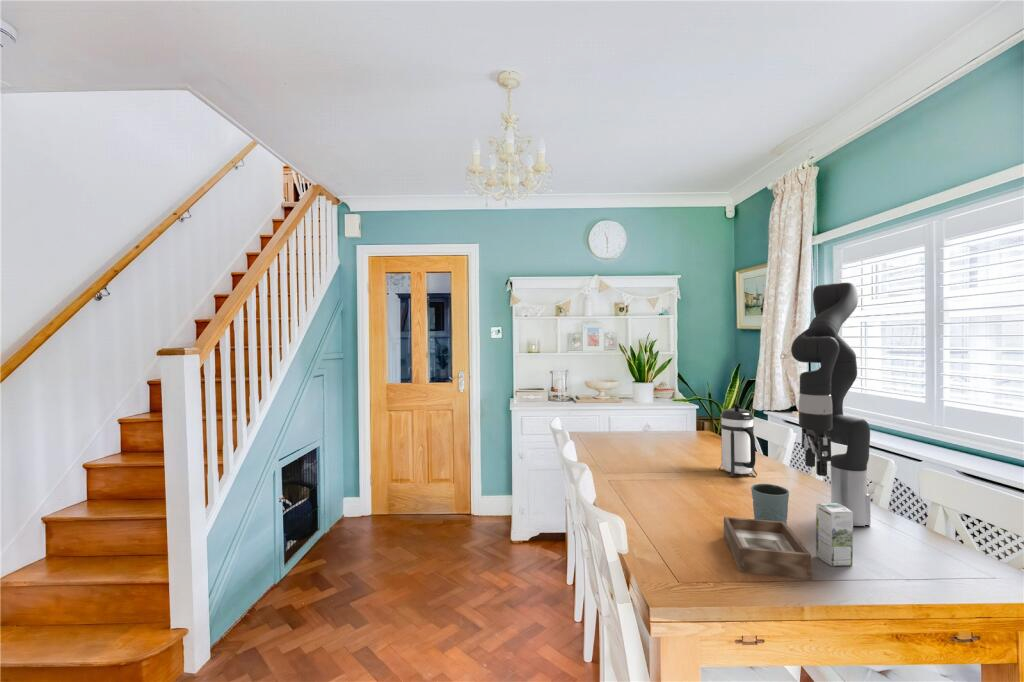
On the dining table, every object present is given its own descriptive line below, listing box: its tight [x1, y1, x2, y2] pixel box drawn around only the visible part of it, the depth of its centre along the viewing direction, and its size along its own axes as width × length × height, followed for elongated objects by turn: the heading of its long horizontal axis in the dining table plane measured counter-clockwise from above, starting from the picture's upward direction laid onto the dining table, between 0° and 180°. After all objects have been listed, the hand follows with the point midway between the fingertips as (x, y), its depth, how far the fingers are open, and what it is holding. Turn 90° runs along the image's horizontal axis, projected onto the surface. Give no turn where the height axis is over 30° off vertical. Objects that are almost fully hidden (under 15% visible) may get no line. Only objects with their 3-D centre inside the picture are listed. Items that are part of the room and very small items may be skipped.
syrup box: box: [815, 502, 854, 567], centre depth 118 cm, size 6×6×14 cm
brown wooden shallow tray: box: [723, 516, 813, 580], centre depth 121 cm, size 16×20×6 cm
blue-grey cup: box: [751, 483, 790, 525], centre depth 139 cm, size 10×10×12 cm
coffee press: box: [718, 402, 758, 479], centre depth 190 cm, size 17×16×30 cm
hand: (815, 470), depth 121 cm, fingers open, 8 cm apart
